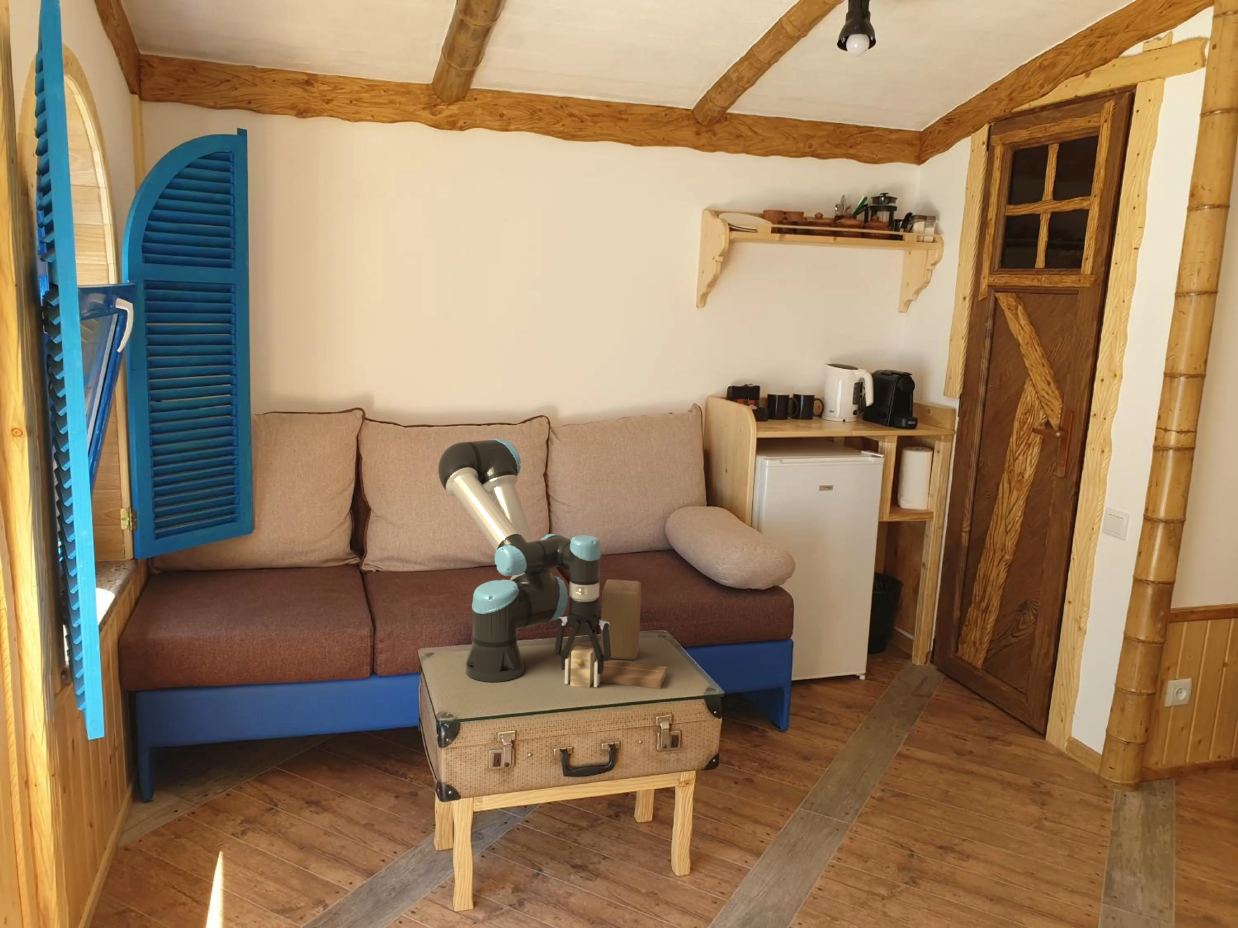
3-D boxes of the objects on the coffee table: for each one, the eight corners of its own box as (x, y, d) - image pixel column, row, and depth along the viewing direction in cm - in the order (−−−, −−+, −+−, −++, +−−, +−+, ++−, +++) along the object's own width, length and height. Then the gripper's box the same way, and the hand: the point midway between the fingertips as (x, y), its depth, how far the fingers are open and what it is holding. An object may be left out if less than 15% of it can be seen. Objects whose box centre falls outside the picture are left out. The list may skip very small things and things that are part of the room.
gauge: (570, 686, 250) (570, 652, 249) (582, 666, 264) (583, 634, 262) (589, 688, 249) (590, 654, 248) (601, 668, 263) (602, 636, 261)
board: (569, 678, 255) (569, 668, 255) (577, 665, 264) (578, 656, 264) (660, 688, 251) (660, 679, 250) (666, 675, 259) (666, 666, 259)
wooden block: (639, 648, 278) (641, 580, 275) (636, 661, 268) (638, 591, 265) (603, 645, 279) (606, 578, 276) (599, 658, 269) (602, 588, 266)
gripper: (542, 597, 246) (540, 684, 250) (619, 605, 242) (616, 693, 246) (550, 589, 253) (548, 673, 257) (625, 596, 249) (622, 682, 253)
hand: (581, 683), depth 252 cm, fingers open, 7 cm apart
